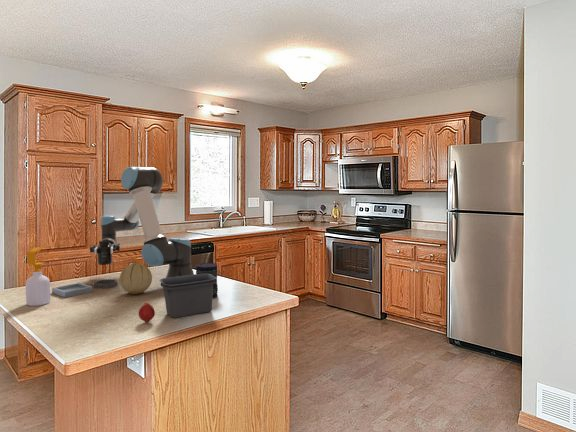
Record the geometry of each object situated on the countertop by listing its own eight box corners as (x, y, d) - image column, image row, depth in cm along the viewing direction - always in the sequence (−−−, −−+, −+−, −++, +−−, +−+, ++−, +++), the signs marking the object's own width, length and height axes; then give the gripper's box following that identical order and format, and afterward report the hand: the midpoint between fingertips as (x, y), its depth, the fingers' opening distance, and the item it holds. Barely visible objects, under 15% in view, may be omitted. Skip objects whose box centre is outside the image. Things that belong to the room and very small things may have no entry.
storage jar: (222, 295, 200) (221, 263, 198) (209, 300, 191) (209, 267, 189) (204, 292, 204) (204, 262, 203) (191, 297, 195) (191, 265, 194)
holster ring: (121, 285, 218) (121, 281, 218) (101, 289, 210) (101, 285, 210) (110, 282, 225) (109, 278, 225) (89, 286, 216) (89, 282, 216)
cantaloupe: (126, 299, 192) (125, 266, 191) (115, 292, 203) (114, 262, 202) (157, 293, 202) (156, 262, 200) (145, 288, 213) (145, 258, 212)
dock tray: (92, 291, 205) (92, 286, 205) (64, 297, 195) (64, 292, 195) (79, 287, 213) (79, 282, 213) (52, 293, 203) (51, 287, 203)
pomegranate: (141, 320, 163) (140, 299, 162) (156, 319, 163) (155, 299, 163) (137, 325, 157) (136, 304, 156) (152, 324, 158) (152, 303, 157)
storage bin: (166, 321, 161) (166, 285, 160) (157, 311, 175) (156, 277, 173) (219, 313, 172) (219, 278, 171) (206, 303, 185) (206, 271, 184)
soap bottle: (55, 301, 188) (52, 247, 186) (37, 307, 180) (34, 250, 178) (40, 299, 191) (37, 246, 189) (21, 305, 183) (18, 249, 181)
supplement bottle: (114, 262, 220) (113, 239, 219) (107, 265, 213) (107, 241, 212) (102, 262, 220) (101, 239, 220) (95, 265, 214) (94, 241, 213)
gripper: (126, 251, 237) (124, 257, 215) (88, 253, 230) (82, 259, 209) (126, 237, 236) (124, 242, 214) (87, 239, 230) (81, 244, 208)
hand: (103, 251), depth 211 cm, fingers closed on supplement bottle, 7 cm apart
